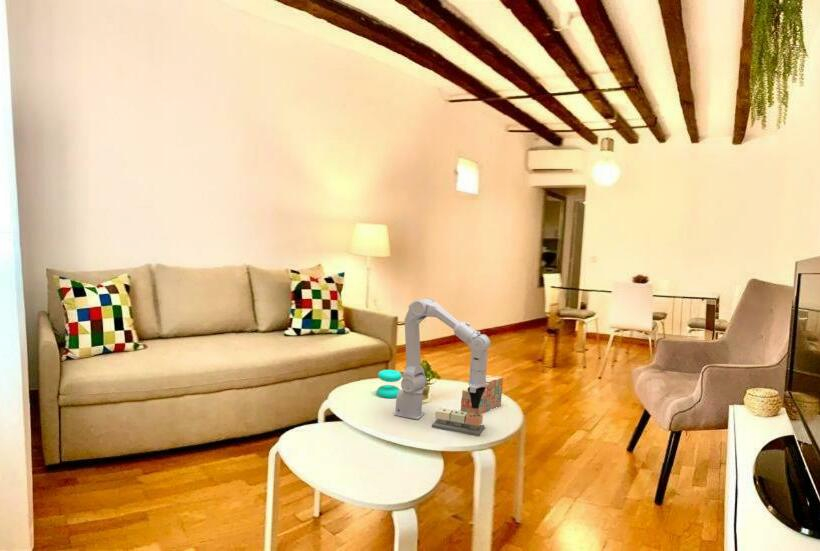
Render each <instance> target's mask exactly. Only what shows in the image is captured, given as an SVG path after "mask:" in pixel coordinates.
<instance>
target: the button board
mask: <svg viewBox="0 0 820 551" xmlns="http://www.w3.org/2000/svg"><path fill="white" fill-rule="evenodd" d="M465 423H466V422H465ZM465 423H459V422H453V421H450V420H449V421H448V420H443V419H437V418H436V420H435V421H434V422H433V423H432V424H431V428H434V429H439V430H444V431H449V432H454V433H460V434H466V435H470V436H475V437H480V436H481V434H482V433H483V431H484V430H485V425H484V424H481V425H480V426H475V425H470V424H465Z"/></svg>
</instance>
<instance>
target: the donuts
mask: <svg viewBox="0 0 820 551" xmlns="http://www.w3.org/2000/svg"><path fill="white" fill-rule="evenodd" d="M377 376H378V379H379V380H381V381H383V382H386V383H396V382H399V381H400V380H402V379H403V373H401V372H400V371H398V370H394V369H383V370H380V371H379V372H378V374H377ZM399 390H401V389H400V388H399V387H398V386H396V385H392V384H390V385H389V384H386V385H384V384H383V385H381V386H379V387H377V389H376V393H377V396H379V397H382V398H385V399H395V398H397V394H398V391H399Z"/></svg>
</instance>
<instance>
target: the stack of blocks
mask: <svg viewBox="0 0 820 551" xmlns="http://www.w3.org/2000/svg"><path fill="white" fill-rule="evenodd" d="M503 381H504V377H503V376H498V375H493V374H486V383H489V385H488V386H484V387H485V388H486V389H485V391H484V393H483V395H482V398H481V401H480V405H479V408H478V409H475V408H472V405H471V398H470V394H469V392H468V387H467V388H465V389H462V391H461V403H460V411H463V412H468V414H469V413H474V414H480V415H483V414H484V413H487V412H489V411H491V409H492V410H494V408H495V409H497V408H499V406H500V407H501V406H502V394H503V384H504V382H503ZM496 407H497V408H496Z"/></svg>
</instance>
